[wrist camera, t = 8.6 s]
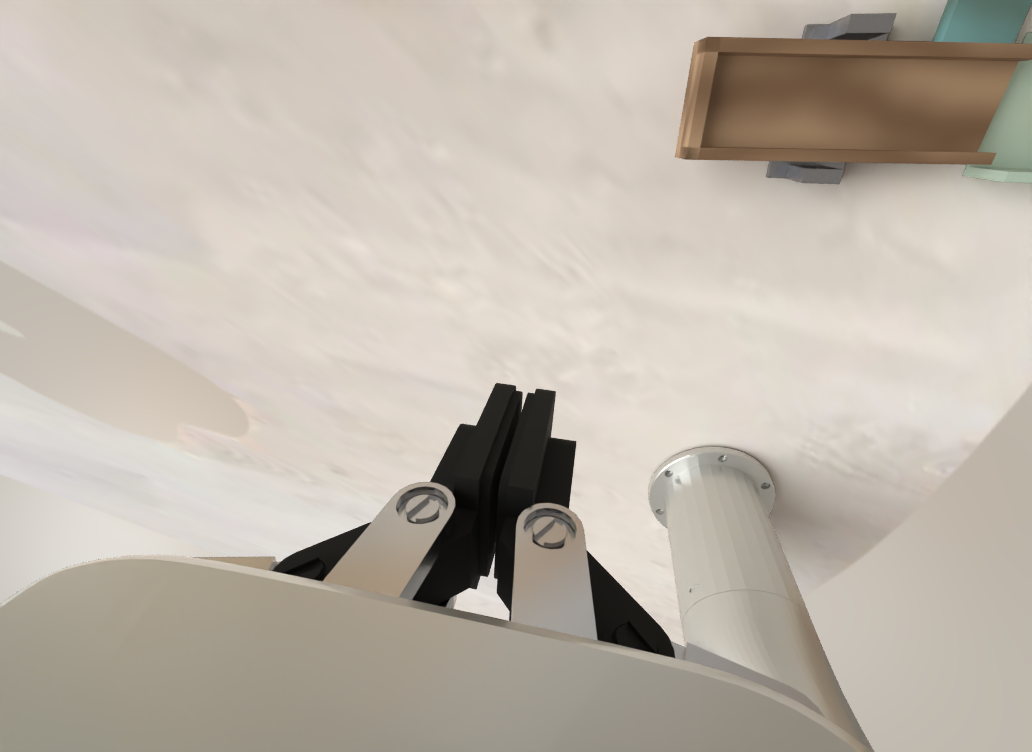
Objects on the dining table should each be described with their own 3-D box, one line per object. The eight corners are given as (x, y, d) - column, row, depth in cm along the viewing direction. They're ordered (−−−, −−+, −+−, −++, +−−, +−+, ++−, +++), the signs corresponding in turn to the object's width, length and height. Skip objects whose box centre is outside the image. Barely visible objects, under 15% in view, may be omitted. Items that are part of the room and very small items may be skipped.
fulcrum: (837, 179, 34) (860, 184, 31) (765, 176, 35) (780, 182, 31) (888, 24, 29) (921, 12, 26) (805, 25, 30) (827, 14, 27)
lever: (962, 162, 32) (991, 164, 30) (675, 157, 31) (685, 159, 29) (1046, -26, 27) (1087, -38, 25) (706, -34, 26) (722, -46, 25)
